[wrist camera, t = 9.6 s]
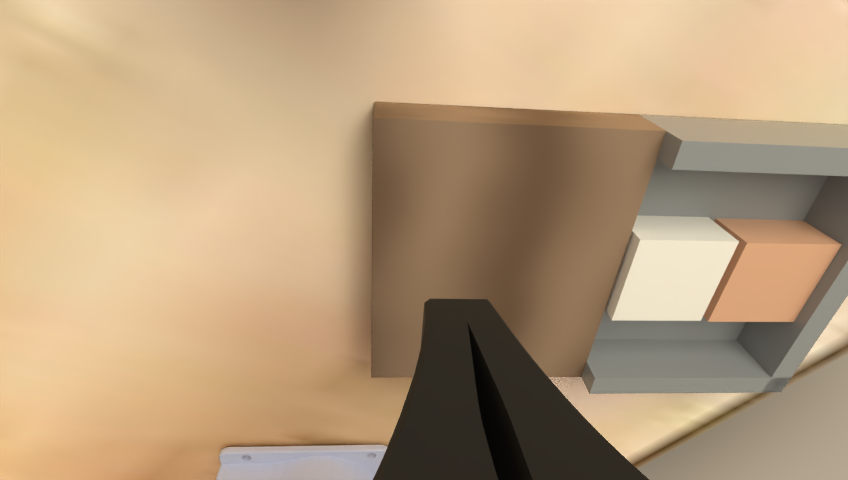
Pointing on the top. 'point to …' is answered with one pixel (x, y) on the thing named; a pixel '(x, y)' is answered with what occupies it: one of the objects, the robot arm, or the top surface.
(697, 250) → the ivory tile
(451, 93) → the top surface
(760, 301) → the terracotta tile
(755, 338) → the tray
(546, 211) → the walnut board
